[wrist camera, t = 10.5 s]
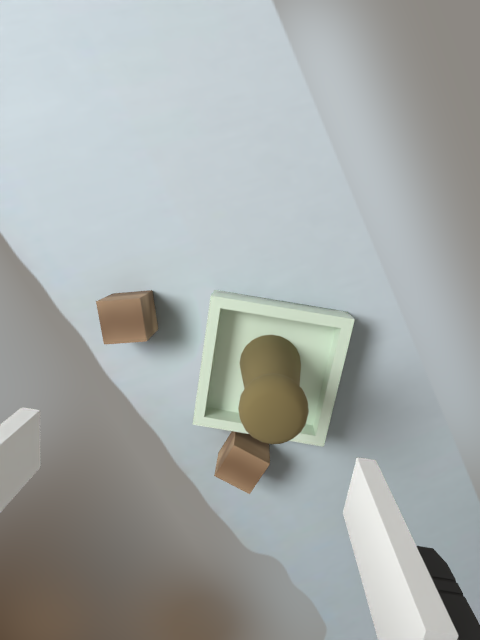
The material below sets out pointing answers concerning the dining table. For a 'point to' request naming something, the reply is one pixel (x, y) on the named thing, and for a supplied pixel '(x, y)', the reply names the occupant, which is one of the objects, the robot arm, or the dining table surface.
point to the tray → (270, 319)
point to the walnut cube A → (127, 317)
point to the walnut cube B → (242, 461)
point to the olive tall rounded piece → (272, 390)
